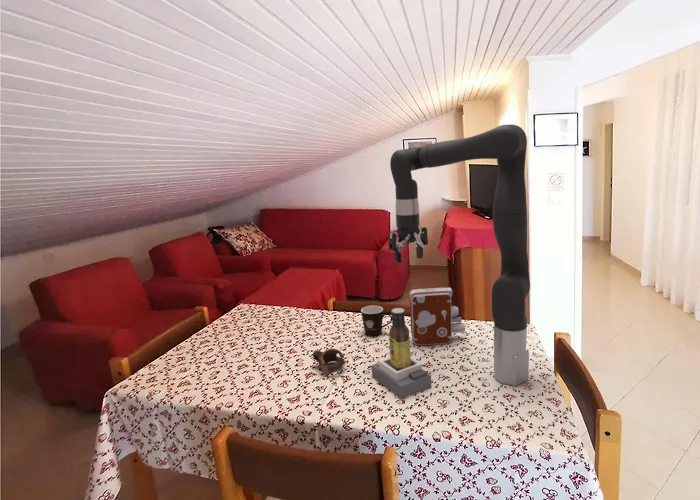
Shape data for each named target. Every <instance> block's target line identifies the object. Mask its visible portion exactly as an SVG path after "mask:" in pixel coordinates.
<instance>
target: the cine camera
mask: <svg viewBox="0 0 700 500" xmlns="http://www.w3.org/2000/svg"><path fill="white" fill-rule="evenodd" d="M408 294H409V313H410V314H409V315H410V318H409V319H410V331H411V337H412V341H413V344H415V345H416V346H430V345H431V346H432V345H446V344H450V343H451V342H452V337H453V336H452V335H453V334H458V333H464V332H465V331H466V326H465V323H464V322H462V317H461V316H459V307H458V306H456V305H454V306H453V305H452V297H453V289H452V288H451V287H433V288H431V287H430V288H429V287H428V288H417V289H416V288H415V289H412V290H410V291H409V293H408ZM457 316H458V317H457Z"/></svg>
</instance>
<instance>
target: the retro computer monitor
mask: <svg viewBox="0 0 700 500" xmlns="http://www.w3.org/2000/svg"><path fill="white" fill-rule="evenodd" d="M371 377H372V378H374V379H375V380H376V381H378V382H379V383H380V384H381V385H383V386H384V387H386V388H387V389H388V390H389V391H391V392H392V393H393V394H395V395H396V396H398V397H399V398H400V399H402V400H403V399H406V398H408V397H410V396H412V395H415V394H418V393H420V392H422V391H425V390H427V389H430V388H431V387H432V375H431V374H430V373H429V372H427V371H426V370H424V369H423V364H422V363H421V362H419V361H418V360H416V359H415V358H413V357H411V366H410V367H407V368H404V369H402V370H399V371H396V370H395V369H393V368H392V367H391V363H390V356H389V357H387V358H384V359H380V360H378V361H377V362H376V363H374V364H371Z"/></svg>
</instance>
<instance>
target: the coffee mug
mask: <svg viewBox="0 0 700 500" xmlns="http://www.w3.org/2000/svg"><path fill="white" fill-rule="evenodd" d="M360 314H361V318H362V323H363V328H364V334H365V336H366V337H369V338H376V337H379V336H381V335H382V331H383V328H385V327H387V326H388V325H390V324H391V323H392V315H391V314H389V313H384V308H383V307H382V306H380V305H367V306H364V307H362V308H361V309H360ZM386 316H388V317H389V318H390V321H389V322H387V323H386V324H384V325H383V320H384V317H386Z"/></svg>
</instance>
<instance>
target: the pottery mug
mask: <svg viewBox="0 0 700 500" xmlns="http://www.w3.org/2000/svg"><path fill="white" fill-rule="evenodd" d="M338 354H339V356H340V357H339V356H338ZM312 357H313V359H314V360H315V361H316V362H317V363H318V365H319V366H320V367H322V369H323V370H322V374H323V375H325V376H326V377H327V376H328V375H330V374H333V373H336V372H338V371H340V370H341V369H343V367H344V366H345V365H346V364H347V362H346V361H345V359H344V358H345V355H344V354H343V352H341V351H340V349H337V348H327V349H325V350H324V351H321V350H314V351H313V353H312ZM332 362H335V363H336V364H329V363H332ZM326 365H327V366H326Z"/></svg>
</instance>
